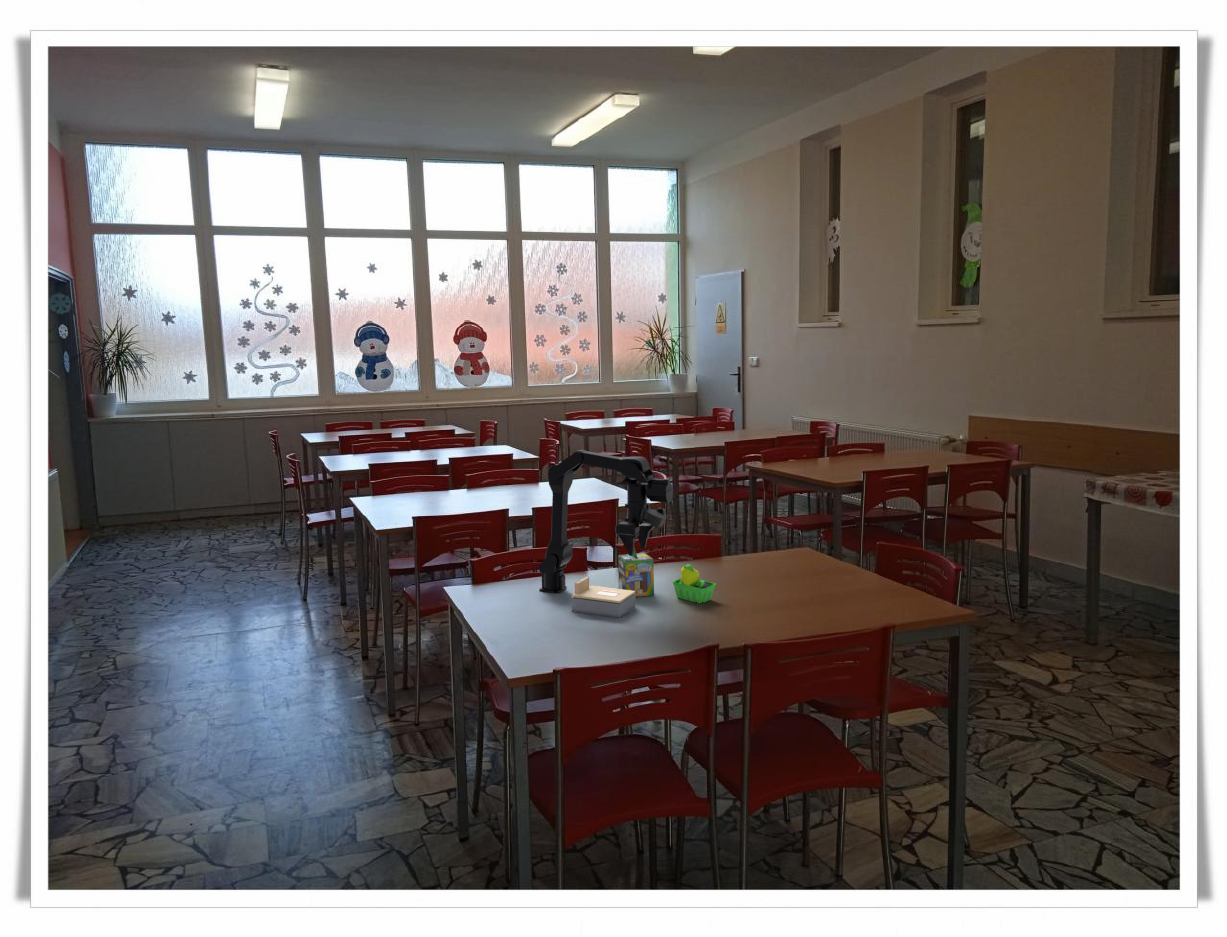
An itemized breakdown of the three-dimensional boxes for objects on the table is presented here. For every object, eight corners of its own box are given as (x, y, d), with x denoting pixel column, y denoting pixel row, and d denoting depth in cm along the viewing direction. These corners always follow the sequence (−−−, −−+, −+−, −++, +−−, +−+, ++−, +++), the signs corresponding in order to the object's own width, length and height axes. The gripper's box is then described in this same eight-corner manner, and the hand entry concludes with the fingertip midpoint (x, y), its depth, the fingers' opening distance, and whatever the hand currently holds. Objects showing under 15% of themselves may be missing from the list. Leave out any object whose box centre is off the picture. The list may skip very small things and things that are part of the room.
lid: (571, 597, 241) (571, 584, 241) (588, 587, 251) (588, 575, 250) (619, 603, 235) (619, 590, 234) (635, 593, 245) (635, 580, 244)
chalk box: (654, 596, 257) (654, 548, 255) (625, 598, 254) (625, 550, 252) (646, 588, 265) (646, 541, 263) (617, 590, 263) (617, 543, 261)
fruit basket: (716, 600, 253) (717, 563, 251) (698, 606, 246) (699, 568, 245) (686, 592, 260) (687, 556, 259) (668, 598, 254) (668, 562, 253)
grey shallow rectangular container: (571, 611, 242) (571, 598, 241) (588, 601, 252) (588, 588, 251) (619, 618, 236) (619, 604, 235) (635, 607, 245) (635, 594, 245)
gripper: (650, 507, 236) (650, 562, 238) (674, 497, 253) (673, 548, 255) (614, 504, 241) (614, 558, 243) (639, 494, 258) (639, 544, 260)
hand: (637, 552), depth 250 cm, fingers open, 9 cm apart
